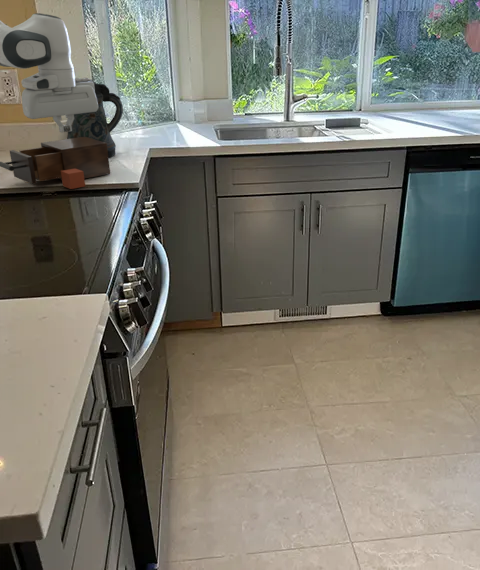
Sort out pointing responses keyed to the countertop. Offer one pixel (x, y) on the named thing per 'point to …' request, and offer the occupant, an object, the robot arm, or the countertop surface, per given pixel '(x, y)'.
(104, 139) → the dark grey pitcher
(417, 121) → the countertop surface
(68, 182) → the block
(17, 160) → the drawer
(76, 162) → the cabinet
